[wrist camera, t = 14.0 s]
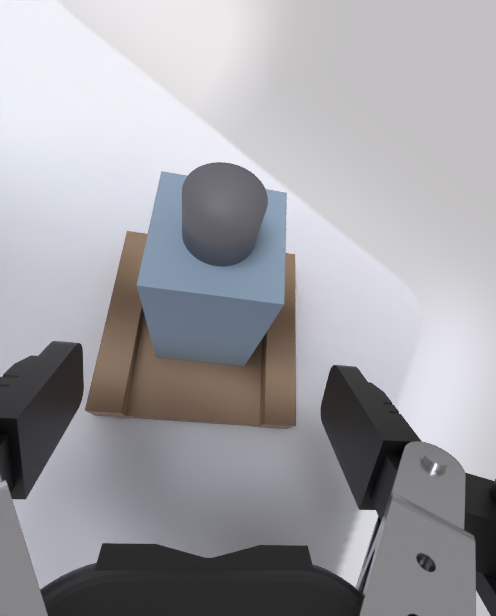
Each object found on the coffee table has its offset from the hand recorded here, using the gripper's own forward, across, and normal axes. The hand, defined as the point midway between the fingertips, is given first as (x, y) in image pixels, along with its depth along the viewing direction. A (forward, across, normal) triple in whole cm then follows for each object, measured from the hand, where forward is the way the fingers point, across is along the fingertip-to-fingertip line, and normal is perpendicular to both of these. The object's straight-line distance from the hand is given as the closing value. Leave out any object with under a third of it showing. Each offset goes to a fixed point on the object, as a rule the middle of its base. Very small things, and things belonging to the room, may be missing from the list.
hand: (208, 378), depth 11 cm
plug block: (+9, 0, +2) cm, 9 cm away
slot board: (+9, 0, +2) cm, 9 cm away
